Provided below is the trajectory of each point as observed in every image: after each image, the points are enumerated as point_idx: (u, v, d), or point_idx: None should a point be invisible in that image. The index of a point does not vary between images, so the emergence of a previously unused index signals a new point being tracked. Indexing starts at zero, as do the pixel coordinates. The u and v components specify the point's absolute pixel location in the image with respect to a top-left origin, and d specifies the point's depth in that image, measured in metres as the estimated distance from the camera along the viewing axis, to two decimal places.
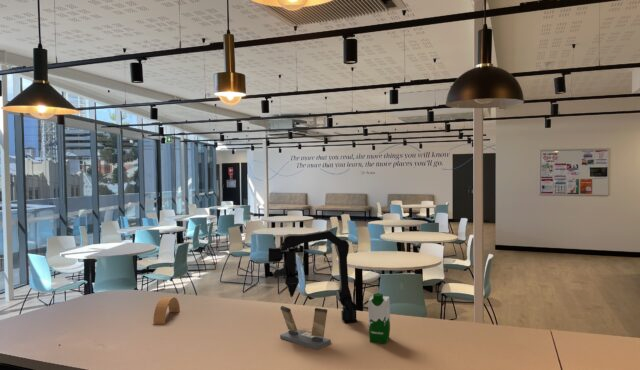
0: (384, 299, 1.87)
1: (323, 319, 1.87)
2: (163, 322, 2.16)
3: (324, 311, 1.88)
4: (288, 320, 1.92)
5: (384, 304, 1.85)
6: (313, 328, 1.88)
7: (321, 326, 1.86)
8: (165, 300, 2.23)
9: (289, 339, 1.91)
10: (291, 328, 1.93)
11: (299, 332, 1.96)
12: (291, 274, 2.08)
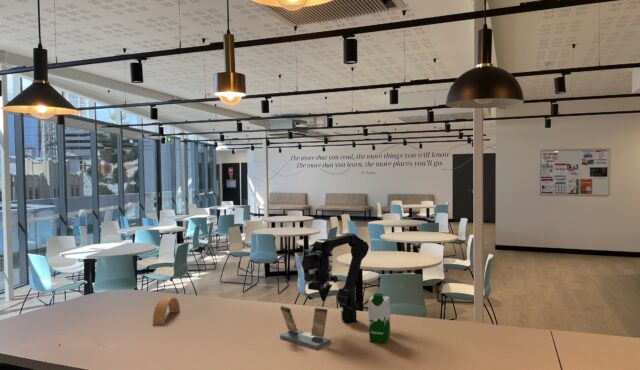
0: (384, 299, 1.87)
1: (323, 319, 1.87)
2: (163, 322, 2.15)
3: (324, 311, 1.88)
4: (288, 320, 1.92)
5: (384, 304, 1.85)
6: (313, 328, 1.88)
7: (321, 326, 1.86)
8: (165, 300, 2.22)
9: (289, 339, 1.91)
10: (291, 328, 1.93)
11: (299, 332, 1.96)
12: (320, 280, 2.01)
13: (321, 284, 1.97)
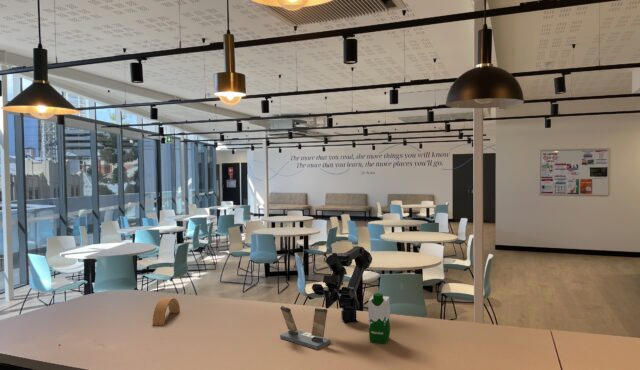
0: (384, 299, 1.87)
1: (323, 319, 1.87)
2: (162, 323, 2.14)
3: (324, 311, 1.88)
4: (288, 320, 1.92)
5: (384, 304, 1.85)
6: (313, 328, 1.88)
7: (321, 326, 1.86)
8: (165, 301, 2.21)
9: (289, 339, 1.91)
10: (291, 328, 1.93)
11: (299, 332, 1.96)
12: (339, 289, 1.99)
13: None
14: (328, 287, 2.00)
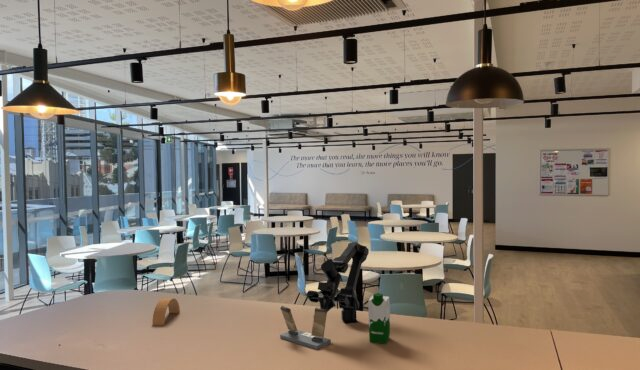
0: (384, 299, 1.87)
1: (323, 319, 1.87)
2: (162, 323, 2.14)
3: (324, 311, 1.88)
4: (288, 320, 1.92)
5: (384, 304, 1.85)
6: (313, 328, 1.88)
7: (321, 326, 1.86)
8: (164, 301, 2.21)
9: (289, 339, 1.91)
10: (291, 328, 1.93)
11: (299, 332, 1.96)
12: (334, 296, 1.95)
13: None
14: (323, 294, 1.96)
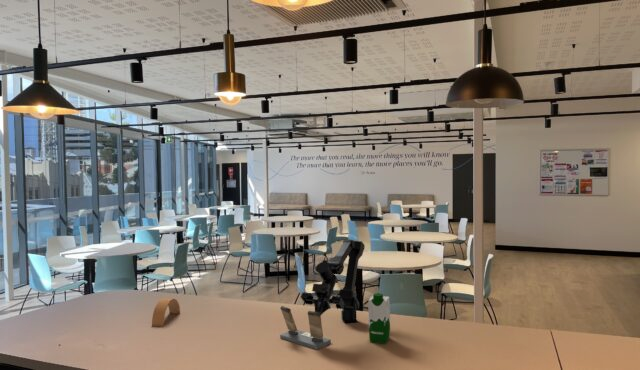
0: (384, 299, 1.87)
1: (318, 322, 1.83)
2: (162, 324, 2.13)
3: (317, 315, 1.82)
4: (288, 320, 1.92)
5: (384, 304, 1.85)
6: (311, 330, 1.86)
7: (318, 329, 1.84)
8: (164, 301, 2.20)
9: (289, 339, 1.91)
10: (291, 328, 1.93)
11: (299, 332, 1.96)
12: (329, 298, 1.91)
13: None
14: (318, 296, 1.91)
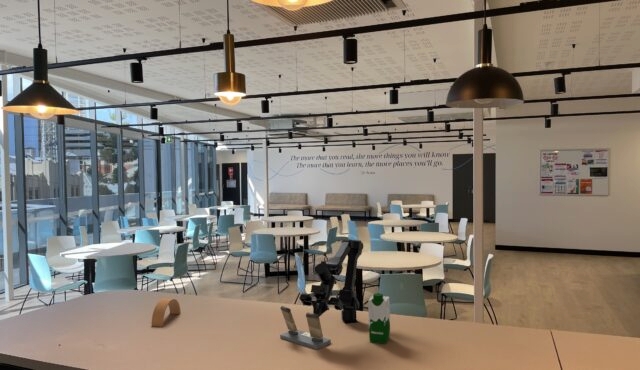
0: (384, 299, 1.87)
1: (317, 324, 1.82)
2: (161, 324, 2.13)
3: (316, 317, 1.81)
4: (288, 320, 1.92)
5: (384, 304, 1.85)
6: (310, 331, 1.85)
7: (318, 330, 1.83)
8: (164, 302, 2.20)
9: (289, 339, 1.91)
10: (291, 328, 1.93)
11: (299, 332, 1.96)
12: (328, 299, 1.89)
13: None
14: (316, 297, 1.90)
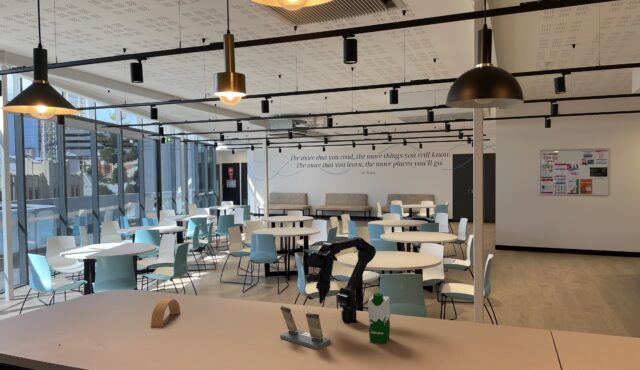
0: (384, 299, 1.87)
1: (317, 324, 1.82)
2: (160, 325, 2.12)
3: (316, 317, 1.81)
4: (288, 320, 1.92)
5: (384, 304, 1.85)
6: (310, 331, 1.85)
7: (318, 330, 1.83)
8: (164, 302, 2.19)
9: (289, 339, 1.91)
10: (291, 328, 1.93)
11: (299, 332, 1.96)
12: (324, 282, 2.02)
13: (329, 284, 1.98)
14: None
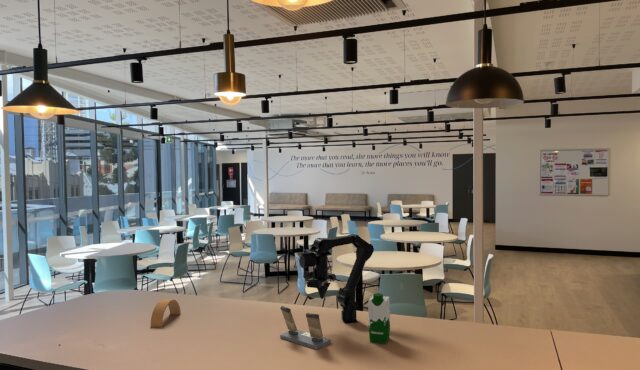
0: (384, 299, 1.87)
1: (317, 324, 1.82)
2: (160, 325, 2.12)
3: (316, 317, 1.81)
4: (288, 320, 1.92)
5: (384, 304, 1.85)
6: (310, 331, 1.85)
7: (318, 330, 1.83)
8: (163, 302, 2.19)
9: (289, 339, 1.91)
10: (291, 328, 1.93)
11: (299, 332, 1.96)
12: (319, 278, 2.05)
13: (320, 282, 2.00)
14: None
